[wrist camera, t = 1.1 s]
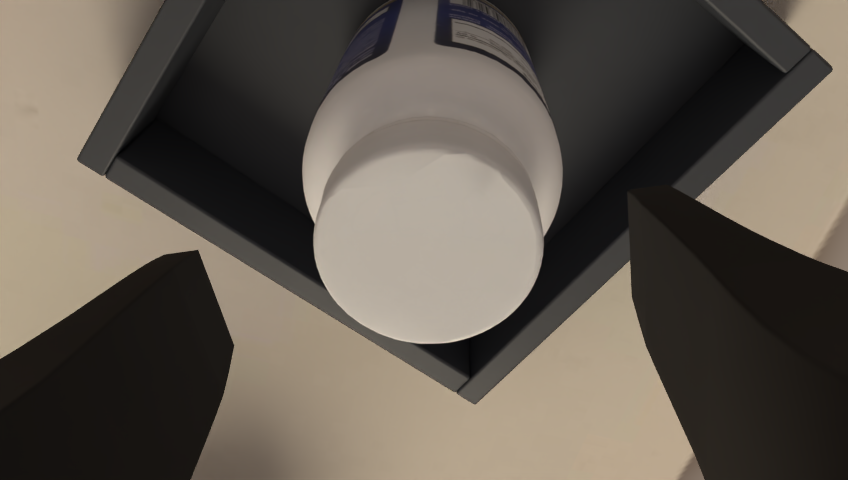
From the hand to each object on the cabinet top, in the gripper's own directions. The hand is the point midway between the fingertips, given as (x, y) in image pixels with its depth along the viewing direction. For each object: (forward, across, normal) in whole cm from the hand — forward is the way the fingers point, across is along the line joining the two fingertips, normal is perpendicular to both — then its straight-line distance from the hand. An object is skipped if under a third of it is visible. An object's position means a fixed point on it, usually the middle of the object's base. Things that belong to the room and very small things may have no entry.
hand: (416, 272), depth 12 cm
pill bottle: (+10, 0, 0) cm, 10 cm away
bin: (+10, 0, 0) cm, 10 cm away
